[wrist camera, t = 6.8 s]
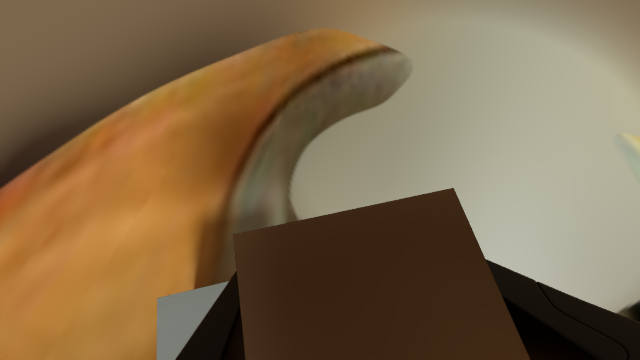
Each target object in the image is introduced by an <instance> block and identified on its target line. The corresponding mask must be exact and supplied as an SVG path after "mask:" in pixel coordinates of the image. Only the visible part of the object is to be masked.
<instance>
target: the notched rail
mask: <svg viewBox="0 0 640 360" xmlns="http://www.w3.org/2000/svg"><path fill="white" fill-rule="evenodd" d="M228 282H229V281H227V282H223V283H219V284H215V285H211V286H206V287H202V288H198V289H194V290H189V291H185V292H181V293H177V294H173V295H168V296H164V297H160V298H157V360H175V359H176V358H177V356H178V355H179V353H180V352H181V350H182V349H183V347H184V346H185V344H186V343H187V342H188V340H189V339H190V337H191V336H192V334H193V333H194V331H195V330H196V328H197V327H198V326H199V324H200V323H201V321H202V320H203V318H204V317H205V315H206V314H207V313H208V311H209V310H210V308H211V307H212V305H213V304H214V302H215V301H216V299H217V298H218V297H219V295H220V294H221V292H222V291H223V289H224V288H225V286H226V285H227V283H228Z"/></svg>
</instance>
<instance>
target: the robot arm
mask: <svg viewBox="0 0 640 360" xmlns="http://www.w3.org/2000/svg"><path fill="white" fill-rule="evenodd" d="M485 260H486V259H485ZM486 262H487V264H488V266H489V268H490V271H491V273H492V275H493V277H494V280H495V282H496V284H497V286H498V289H499V291H500V293H501V295H502V298H503V300H504V302H505V304H506V307H507V309H508V311H509V313H510V315H511V318H512V320H513V322H514V324H515V327H516V329H517V331H518V333H519V336H520V338H521V340H522V342H523V345H524V347H525V349H526V351H527V354H528V356H529V358H530V360H640V322H638V321H635V320H632V319H630V318H627V317H624V316H622V315H619V314H616V313H614V312H611V311H609V310H606V309H603V308H601V307H598V306H596V305H593V304H590V303H588V302H585V301H583V300H580V299H578V298H575V297H573V296H571V295H568V294H566V293H563V292H561V291H559V290H556V289H554V288H552V287H549V286H547V285H544V284H542V283H540V282H536V281H535V280H533V279H531V278H528V277H526V276H524V275H521V274H519V273H517V272H514V271H512V270H510V269H507V268H505V267H503V266H500V265H498V264H496V263H493V262H491V261H488V260H486ZM175 360H246V359H245V348H244V338H243V328H242V318H241V308H240V298H239V288H238V278H237V271H236V272H235V273H234V275H233V276H232V278H231V279H230V281H229V282H228V283H227V285H226V286H225V288H224V289H223V291H222V292H221V294H220V295H219V297H218V298H217V299H216V301H215V302H214V304H213V305H212V307H211V308H210V310H209V311H208V313H207V314H206V315H205V317H204V318H203V320H202V321H201V323H200V324H199V326H198V327H197V328H196V330H195V331H194V333H193V334H192V336H191V337H190V339H189V340H188V342H187V343H186V344H185V346H184V347H183V349H182V350H181V352H180V353H179V355H178V356H177V358H176V359H175Z"/></svg>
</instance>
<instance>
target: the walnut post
mask: <svg viewBox="0 0 640 360" xmlns="http://www.w3.org/2000/svg"><path fill="white" fill-rule="evenodd" d="M233 238H234V248H235V258H236V268H237V278H238V288H239V298H240V308H241V318H242V328H243V338H244V348H245V359H246V360H530V358H529V356H528V354H527V351H526V349H525V347H524V345H523V342H522V340H521V338H520V336H519V333H518V331H517V329H516V327H515V324H514V322H513V320H512V318H511V315H510V313H509V311H508V309H507V307H506V304H505V302H504V300H503V298H502V295H501V293H500V291H499V289H498V286H497V284H496V282H495V280H494V277H493V275H492V273H491V271H490V268H489V266H488V264H487V262H486V260H485V258H484V255H483V253H482V251H481V248H480V246H479V244H478V242H477V240H476V237H475V235H474V233H473V231H472V228H471V226H470V224H469V221H468V219H467V217H466V215H465V213H464V210H463V208H462V206H461V204H460V201H459V199H458V197H457V195H456V192H455V190H454V188H451V189H446V190H441V191H437V192H432V193H428V194H423V195H418V196H413V197H409V198H404V199H399V200H394V201H390V202H385V203H380V204H375V205H371V206H366V207H361V208H357V209H352V210H347V211H342V212H338V213H333V214H328V215H323V216H319V217H314V218H309V219H305V220H300V221H295V222H290V223H286V224H281V225H276V226H272V227H267V228H262V229H257V230H253V231H248V232H243V233H239V234H234V235H233Z"/></svg>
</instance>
